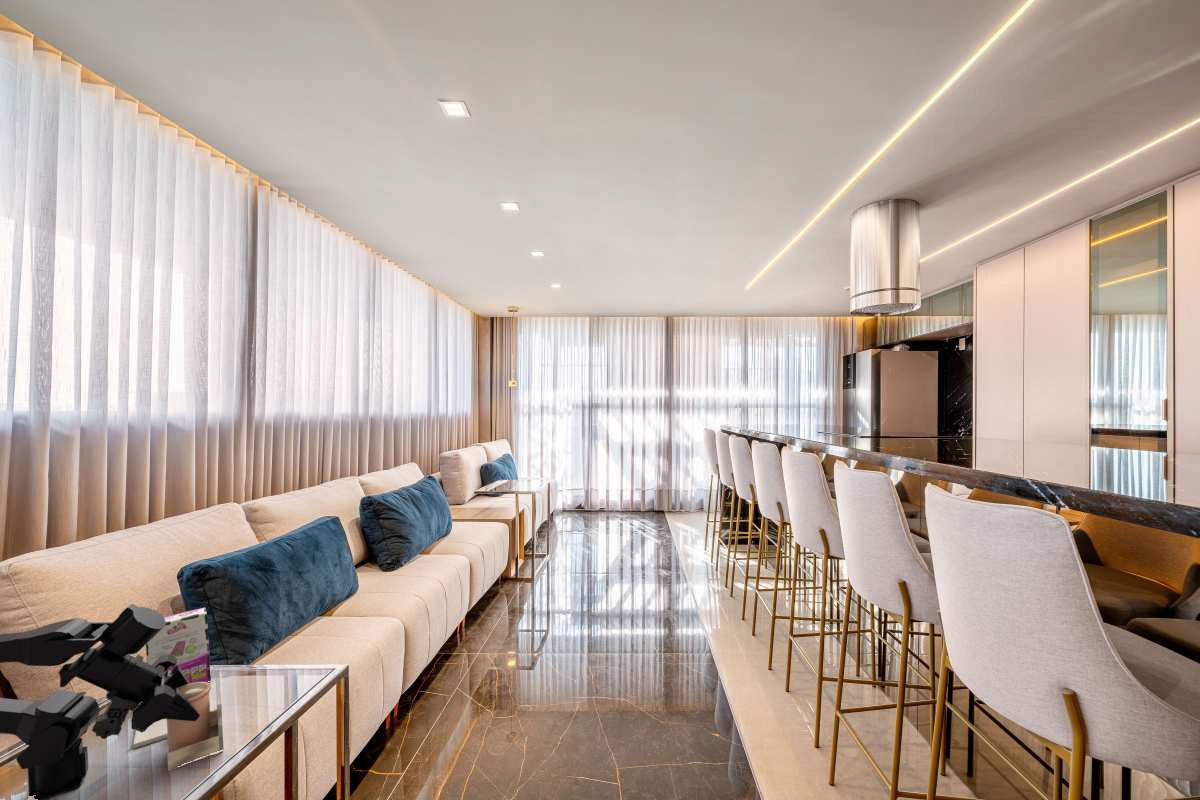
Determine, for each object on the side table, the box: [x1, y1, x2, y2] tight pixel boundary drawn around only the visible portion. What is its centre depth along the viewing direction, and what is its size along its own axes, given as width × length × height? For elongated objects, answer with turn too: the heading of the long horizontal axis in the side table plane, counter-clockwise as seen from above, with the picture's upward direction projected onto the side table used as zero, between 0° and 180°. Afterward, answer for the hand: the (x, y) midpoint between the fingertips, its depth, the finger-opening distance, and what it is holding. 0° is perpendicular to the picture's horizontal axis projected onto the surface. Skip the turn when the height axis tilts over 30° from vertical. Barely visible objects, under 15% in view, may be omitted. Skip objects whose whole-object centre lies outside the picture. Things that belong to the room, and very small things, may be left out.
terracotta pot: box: [167, 682, 212, 753], centre depth 101 cm, size 7×7×11 cm
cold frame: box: [167, 677, 224, 772], centre depth 101 cm, size 8×12×9 cm
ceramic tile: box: [132, 719, 168, 749], centre depth 107 cm, size 9×9×1 cm
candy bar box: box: [145, 607, 212, 683], centre depth 122 cm, size 11×5×16 cm, turn 129°
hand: (197, 709), depth 101 cm, fingers closed on terracotta pot, 6 cm apart
